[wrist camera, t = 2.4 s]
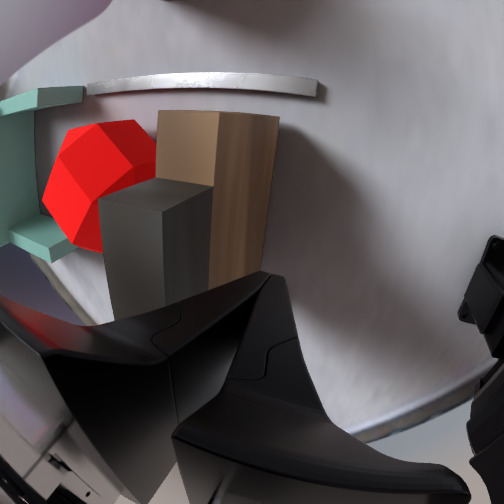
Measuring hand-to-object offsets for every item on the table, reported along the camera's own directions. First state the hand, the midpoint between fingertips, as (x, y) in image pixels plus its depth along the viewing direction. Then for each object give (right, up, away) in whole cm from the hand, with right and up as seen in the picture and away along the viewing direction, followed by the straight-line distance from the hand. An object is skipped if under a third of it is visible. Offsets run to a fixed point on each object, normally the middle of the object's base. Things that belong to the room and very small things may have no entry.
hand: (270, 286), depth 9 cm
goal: (-20, +10, +15) cm, 27 cm away
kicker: (0, +5, +10) cm, 11 cm away
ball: (-9, +7, +12) cm, 17 cm away
